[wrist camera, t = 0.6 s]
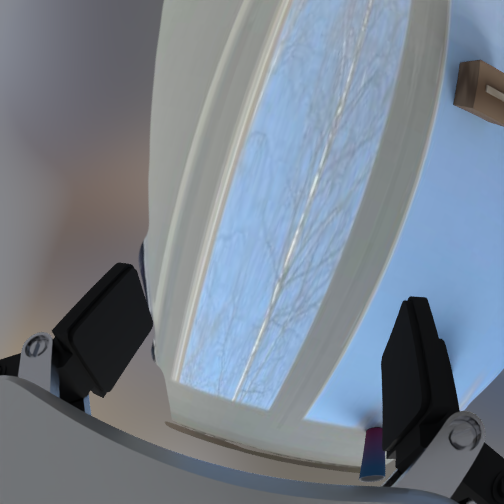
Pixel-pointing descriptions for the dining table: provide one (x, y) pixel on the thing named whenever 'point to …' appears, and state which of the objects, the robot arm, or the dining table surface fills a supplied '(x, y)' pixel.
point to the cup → (373, 457)
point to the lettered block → (481, 91)
